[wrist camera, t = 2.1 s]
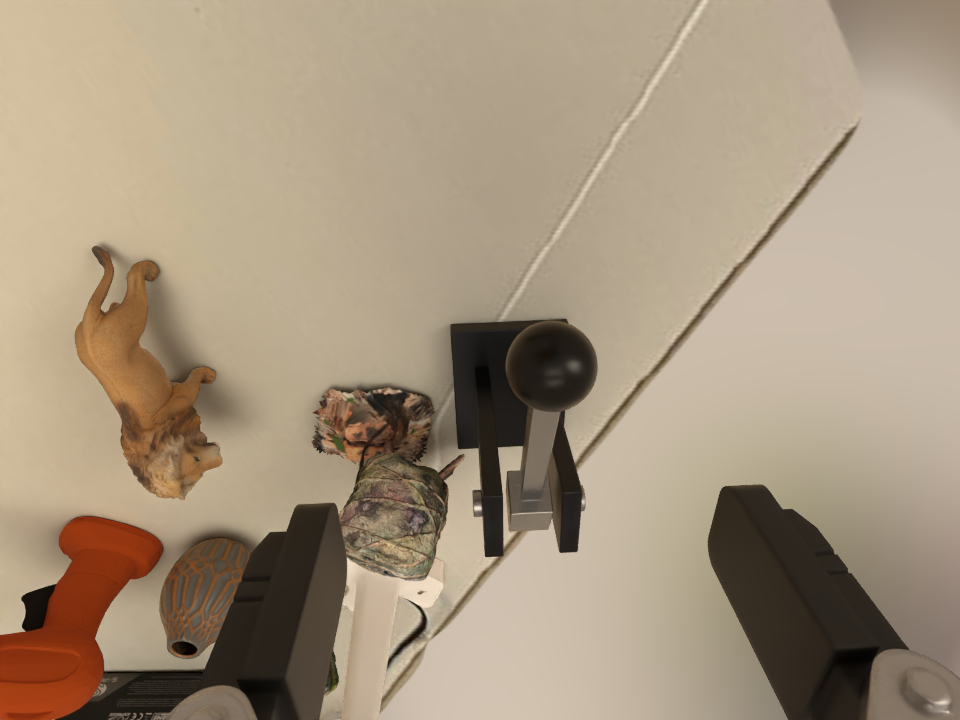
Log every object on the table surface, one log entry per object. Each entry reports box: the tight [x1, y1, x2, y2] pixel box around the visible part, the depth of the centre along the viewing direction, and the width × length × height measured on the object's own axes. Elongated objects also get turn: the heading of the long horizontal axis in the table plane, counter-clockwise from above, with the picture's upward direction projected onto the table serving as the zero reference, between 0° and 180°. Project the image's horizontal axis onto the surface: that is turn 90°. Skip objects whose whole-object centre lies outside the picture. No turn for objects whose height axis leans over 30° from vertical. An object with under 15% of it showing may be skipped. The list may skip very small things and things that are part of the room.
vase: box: [160, 538, 251, 659], centre depth 44 cm, size 7×7×9 cm
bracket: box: [451, 319, 585, 557], centre depth 34 cm, size 10×8×14 cm
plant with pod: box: [311, 387, 465, 697], centre depth 33 cm, size 8×11×20 cm
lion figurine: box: [75, 246, 222, 500], centre depth 34 cm, size 15×5×9 cm, turn 20°
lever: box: [506, 321, 597, 532], centre depth 25 cm, size 16×3×3 cm, turn 1°
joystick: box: [341, 558, 444, 720], centre depth 41 cm, size 11×8×20 cm
